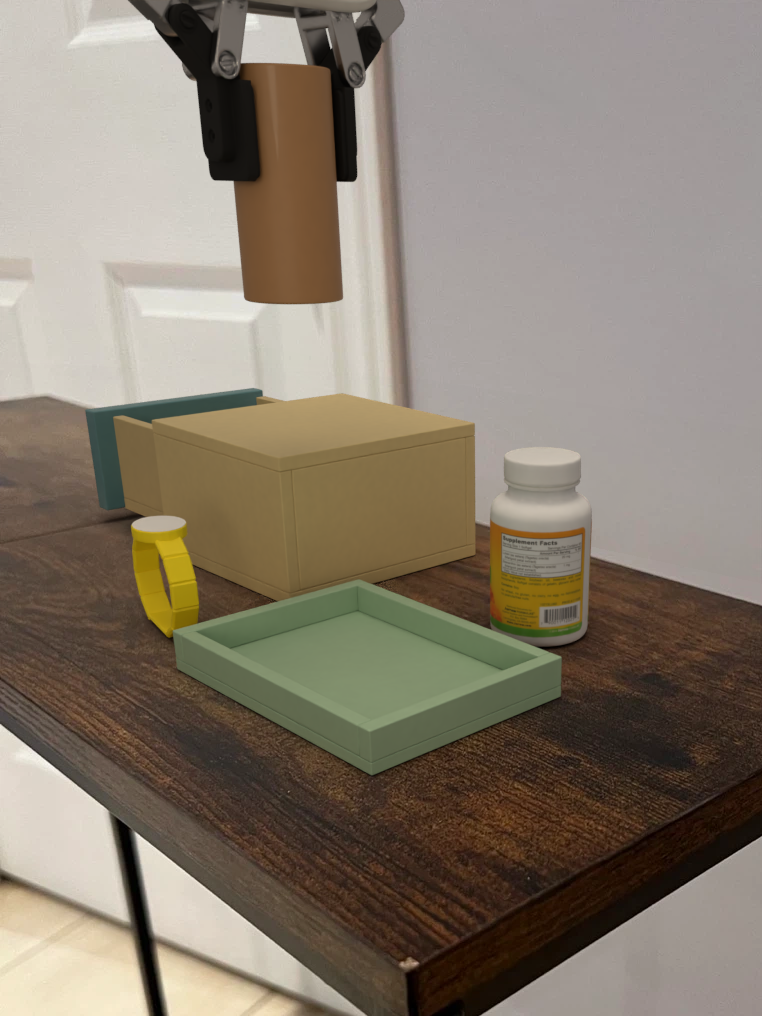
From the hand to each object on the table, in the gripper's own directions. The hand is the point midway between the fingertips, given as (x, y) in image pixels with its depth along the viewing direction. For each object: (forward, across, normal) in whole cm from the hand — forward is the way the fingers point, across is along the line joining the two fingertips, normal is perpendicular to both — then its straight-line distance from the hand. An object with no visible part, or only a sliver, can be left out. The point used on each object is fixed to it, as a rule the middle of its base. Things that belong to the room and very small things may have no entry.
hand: (285, 176), depth 54 cm
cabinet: (+22, -8, -10) cm, 26 cm away
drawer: (+21, -8, -22) cm, 32 cm away
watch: (+23, +6, -5) cm, 24 cm away
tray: (+22, +3, +8) cm, 24 cm away
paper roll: (+5, 0, 0) cm, 5 cm away
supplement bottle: (+23, -8, +10) cm, 26 cm away
